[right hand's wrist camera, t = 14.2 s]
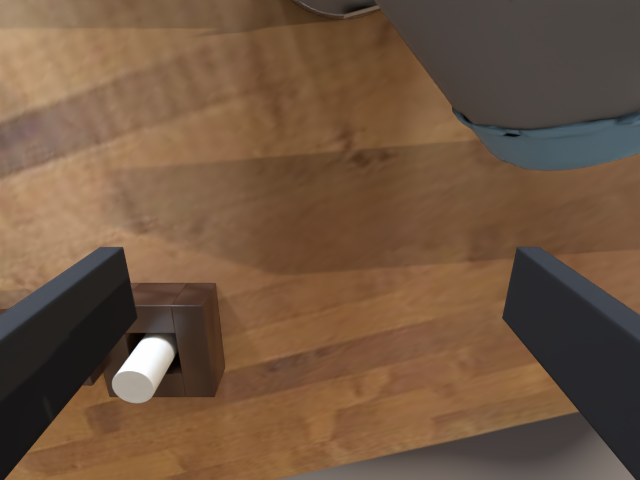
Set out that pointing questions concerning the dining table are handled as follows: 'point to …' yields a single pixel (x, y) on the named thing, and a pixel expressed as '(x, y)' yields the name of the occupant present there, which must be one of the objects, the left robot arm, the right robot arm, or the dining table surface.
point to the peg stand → (191, 333)
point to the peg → (145, 367)
